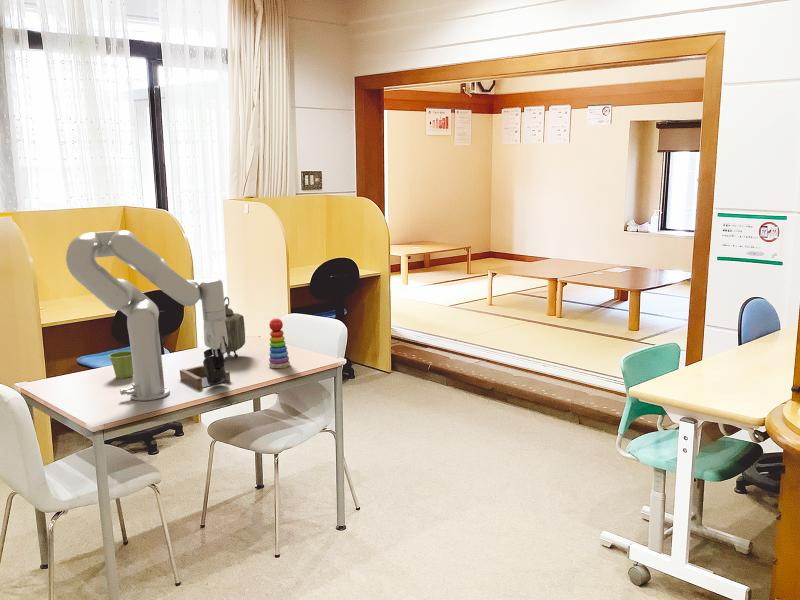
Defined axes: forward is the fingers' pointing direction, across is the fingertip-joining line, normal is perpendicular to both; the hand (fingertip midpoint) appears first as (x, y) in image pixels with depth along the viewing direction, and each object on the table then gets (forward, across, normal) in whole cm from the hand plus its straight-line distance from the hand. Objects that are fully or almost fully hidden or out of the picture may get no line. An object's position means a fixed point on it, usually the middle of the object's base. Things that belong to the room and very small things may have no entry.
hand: (219, 366), depth 250 cm
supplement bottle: (+6, -1, -1) cm, 6 cm away
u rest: (+8, -11, -1) cm, 14 cm away
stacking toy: (+8, -10, +28) cm, 31 cm away
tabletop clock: (+8, -34, +20) cm, 41 cm away
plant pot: (+7, -39, -21) cm, 45 cm away
